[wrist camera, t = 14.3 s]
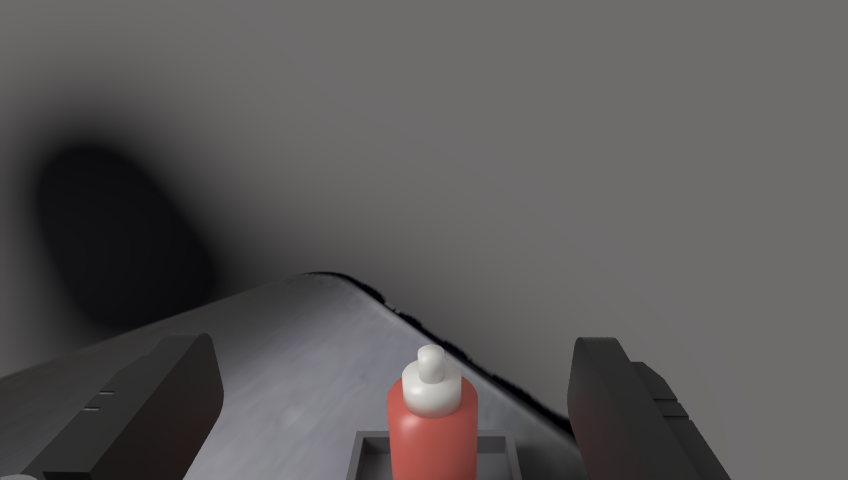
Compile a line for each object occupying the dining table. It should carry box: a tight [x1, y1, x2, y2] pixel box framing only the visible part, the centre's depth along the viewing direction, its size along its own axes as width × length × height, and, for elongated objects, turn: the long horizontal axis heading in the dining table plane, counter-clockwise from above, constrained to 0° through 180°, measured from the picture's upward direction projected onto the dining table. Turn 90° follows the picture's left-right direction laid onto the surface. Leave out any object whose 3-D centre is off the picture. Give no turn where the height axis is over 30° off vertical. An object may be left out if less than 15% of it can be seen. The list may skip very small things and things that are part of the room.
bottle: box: [387, 345, 478, 480], centre depth 27 cm, size 5×5×14 cm
